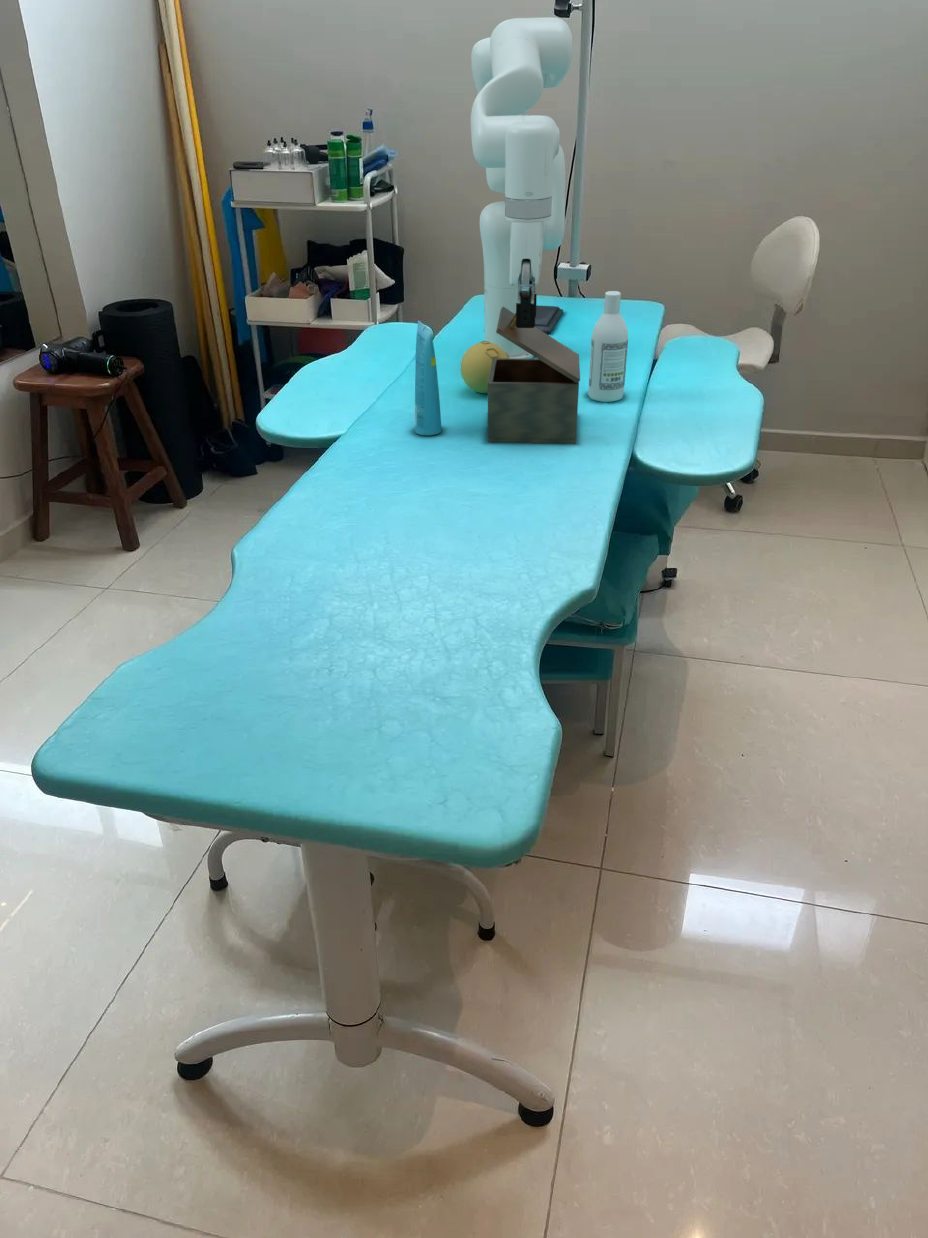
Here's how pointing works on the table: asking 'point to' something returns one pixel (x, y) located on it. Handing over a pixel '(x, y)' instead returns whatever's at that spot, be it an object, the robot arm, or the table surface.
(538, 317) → the wallet
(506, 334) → the lid
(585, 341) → the table surface
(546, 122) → the robot arm
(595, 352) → the bath foam
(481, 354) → the stress ball
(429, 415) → the tube
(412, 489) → the table surface
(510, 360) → the chest
